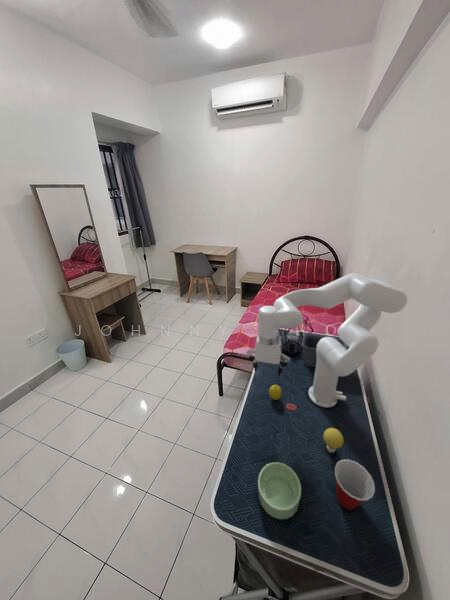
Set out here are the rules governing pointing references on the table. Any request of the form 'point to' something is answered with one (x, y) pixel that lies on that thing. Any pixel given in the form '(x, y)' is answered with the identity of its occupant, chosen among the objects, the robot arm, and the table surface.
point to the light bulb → (333, 439)
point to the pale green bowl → (279, 490)
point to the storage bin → (314, 347)
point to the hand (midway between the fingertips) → (267, 371)
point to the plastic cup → (353, 484)
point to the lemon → (275, 392)
